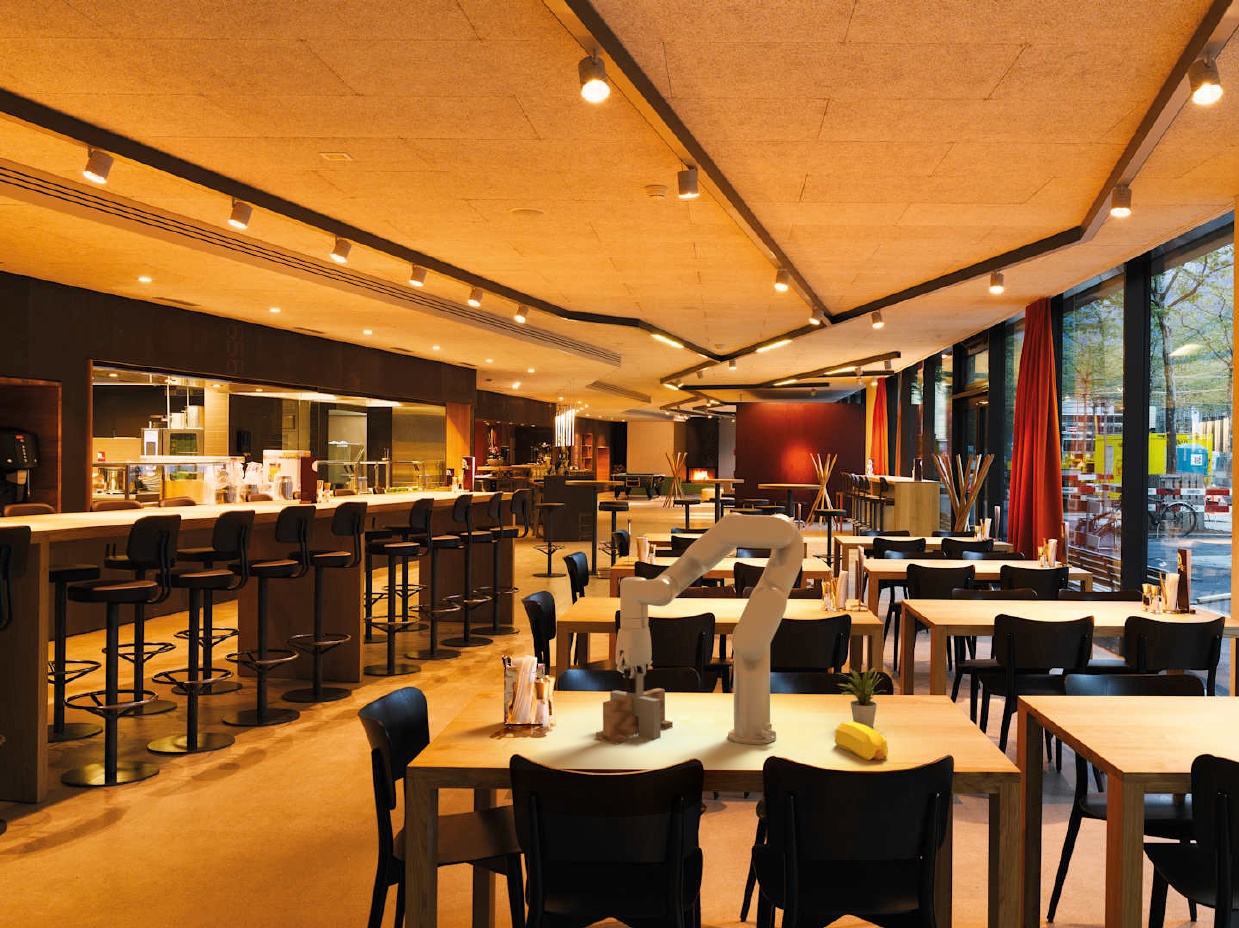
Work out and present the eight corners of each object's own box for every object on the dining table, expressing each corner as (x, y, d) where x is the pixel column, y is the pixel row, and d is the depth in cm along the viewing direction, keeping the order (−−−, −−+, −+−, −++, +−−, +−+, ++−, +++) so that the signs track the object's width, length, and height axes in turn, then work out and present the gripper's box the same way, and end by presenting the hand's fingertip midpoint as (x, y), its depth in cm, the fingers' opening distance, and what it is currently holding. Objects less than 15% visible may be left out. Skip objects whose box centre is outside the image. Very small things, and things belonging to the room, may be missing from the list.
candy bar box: (503, 726, 265) (503, 667, 265) (505, 721, 270) (505, 663, 270) (544, 725, 265) (543, 666, 265) (544, 720, 270) (544, 662, 270)
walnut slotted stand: (650, 722, 268) (650, 686, 268) (672, 727, 262) (672, 690, 262) (595, 738, 252) (595, 700, 252) (617, 744, 246) (617, 705, 246)
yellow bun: (854, 741, 248) (828, 744, 246) (853, 716, 248) (828, 718, 246) (895, 761, 231) (868, 765, 229) (895, 734, 231) (868, 737, 229)
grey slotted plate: (660, 737, 253) (660, 676, 253) (654, 739, 251) (653, 678, 251) (616, 726, 263) (616, 668, 264) (610, 728, 262) (610, 670, 262)
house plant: (846, 715, 274) (846, 658, 274) (894, 721, 267) (894, 663, 267) (830, 726, 262) (830, 667, 262) (880, 733, 255) (880, 672, 255)
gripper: (644, 618, 266) (644, 684, 266) (603, 625, 254) (603, 694, 254) (664, 621, 261) (665, 688, 260) (623, 628, 249) (624, 698, 249)
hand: (634, 690), depth 257 cm, fingers open, 3 cm apart
